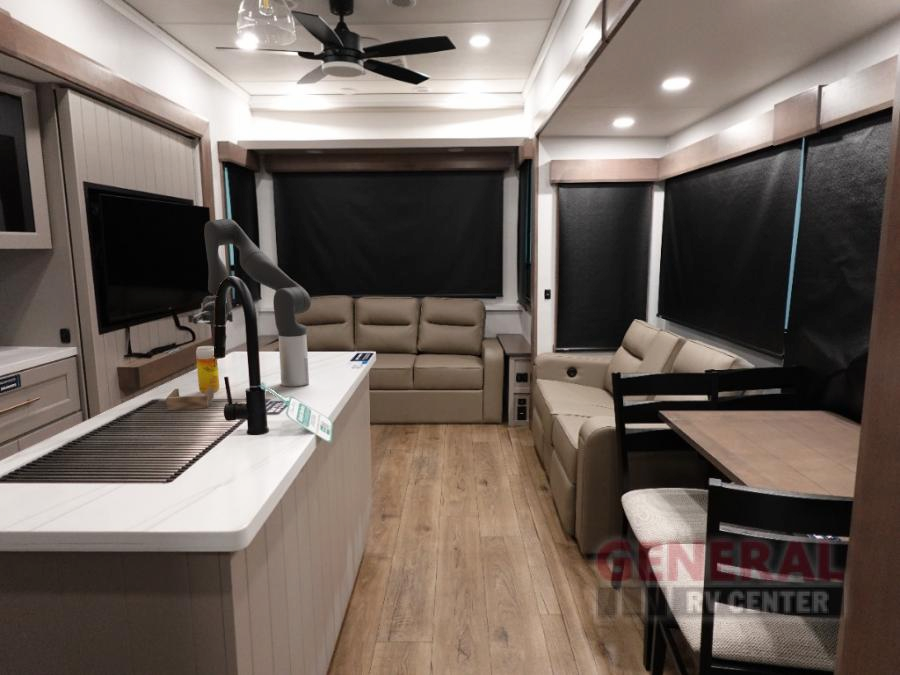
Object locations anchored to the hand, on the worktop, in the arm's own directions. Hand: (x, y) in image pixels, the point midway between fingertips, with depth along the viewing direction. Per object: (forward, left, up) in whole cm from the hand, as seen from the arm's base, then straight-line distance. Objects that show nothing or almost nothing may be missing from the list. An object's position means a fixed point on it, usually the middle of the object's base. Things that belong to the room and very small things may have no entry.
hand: (209, 321), depth 186 cm
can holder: (+3, +23, -22) cm, 32 cm away
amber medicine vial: (0, +10, -22) cm, 25 cm away
